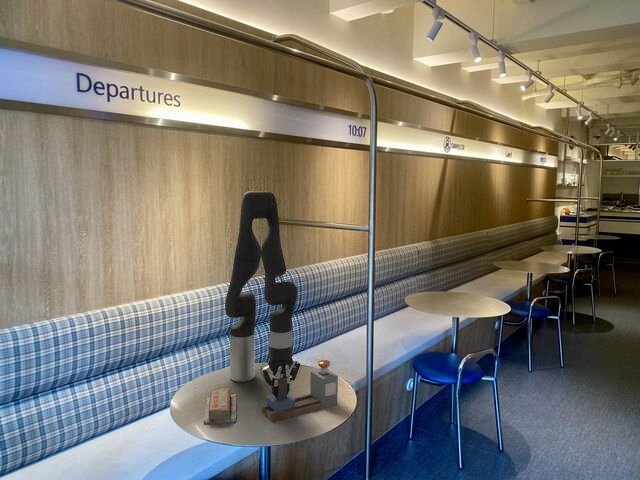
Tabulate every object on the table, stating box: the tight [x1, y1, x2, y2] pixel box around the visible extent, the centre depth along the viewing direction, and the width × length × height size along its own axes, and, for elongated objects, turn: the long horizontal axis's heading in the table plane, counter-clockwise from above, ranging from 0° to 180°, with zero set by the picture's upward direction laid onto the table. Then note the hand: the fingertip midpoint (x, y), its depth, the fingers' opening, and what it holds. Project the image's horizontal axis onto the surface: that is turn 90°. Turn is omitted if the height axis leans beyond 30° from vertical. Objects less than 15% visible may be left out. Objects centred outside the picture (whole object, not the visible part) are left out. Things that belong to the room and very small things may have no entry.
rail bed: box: [261, 393, 322, 422], centre depth 156 cm, size 8×18×2 cm, turn 121°
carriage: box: [265, 375, 295, 412], centre depth 154 cm, size 7×7×9 cm
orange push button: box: [317, 359, 331, 376], centre depth 162 cm, size 4×4×6 cm
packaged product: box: [203, 387, 237, 425], centre depth 156 cm, size 18×5×10 cm
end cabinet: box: [309, 368, 339, 409], centre depth 162 cm, size 8×6×10 cm
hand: (280, 394), depth 154 cm, fingers closed on carriage, 3 cm apart
